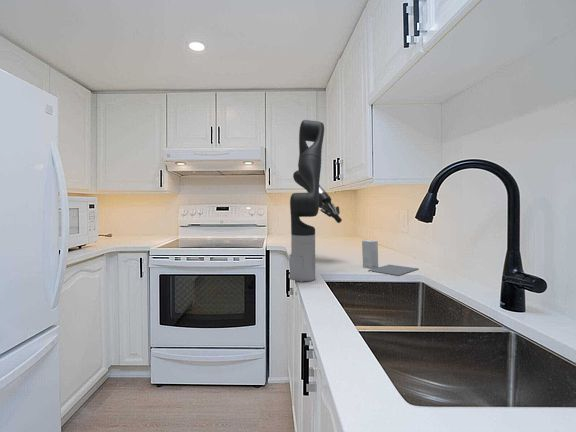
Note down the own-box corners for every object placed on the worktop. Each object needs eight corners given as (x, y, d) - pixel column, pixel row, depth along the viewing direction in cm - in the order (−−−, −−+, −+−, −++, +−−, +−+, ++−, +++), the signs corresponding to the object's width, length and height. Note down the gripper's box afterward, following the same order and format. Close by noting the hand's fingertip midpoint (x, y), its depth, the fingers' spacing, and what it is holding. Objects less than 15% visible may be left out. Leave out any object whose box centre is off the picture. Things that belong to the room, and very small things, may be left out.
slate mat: (398, 275, 135) (398, 274, 135) (368, 271, 145) (368, 270, 145) (418, 269, 148) (418, 268, 148) (389, 265, 158) (389, 264, 158)
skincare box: (378, 267, 152) (378, 241, 152) (371, 269, 150) (371, 241, 149) (369, 265, 157) (369, 239, 157) (361, 266, 155) (361, 240, 155)
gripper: (315, 191, 166) (336, 216, 158) (332, 191, 175) (352, 215, 167) (307, 202, 170) (327, 227, 162) (324, 202, 179) (343, 226, 171)
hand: (340, 221), depth 165 cm, fingers closed
